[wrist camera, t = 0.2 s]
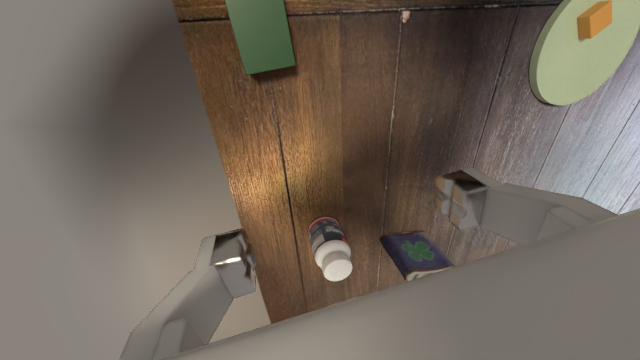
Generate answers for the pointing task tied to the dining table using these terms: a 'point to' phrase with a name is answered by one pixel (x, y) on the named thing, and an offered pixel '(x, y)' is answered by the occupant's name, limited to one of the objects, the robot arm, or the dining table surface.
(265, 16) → the sponge
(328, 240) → the pill bottle
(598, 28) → the orange square block
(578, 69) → the plate
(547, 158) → the dining table surface
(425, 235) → the flask
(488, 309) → the robot arm
